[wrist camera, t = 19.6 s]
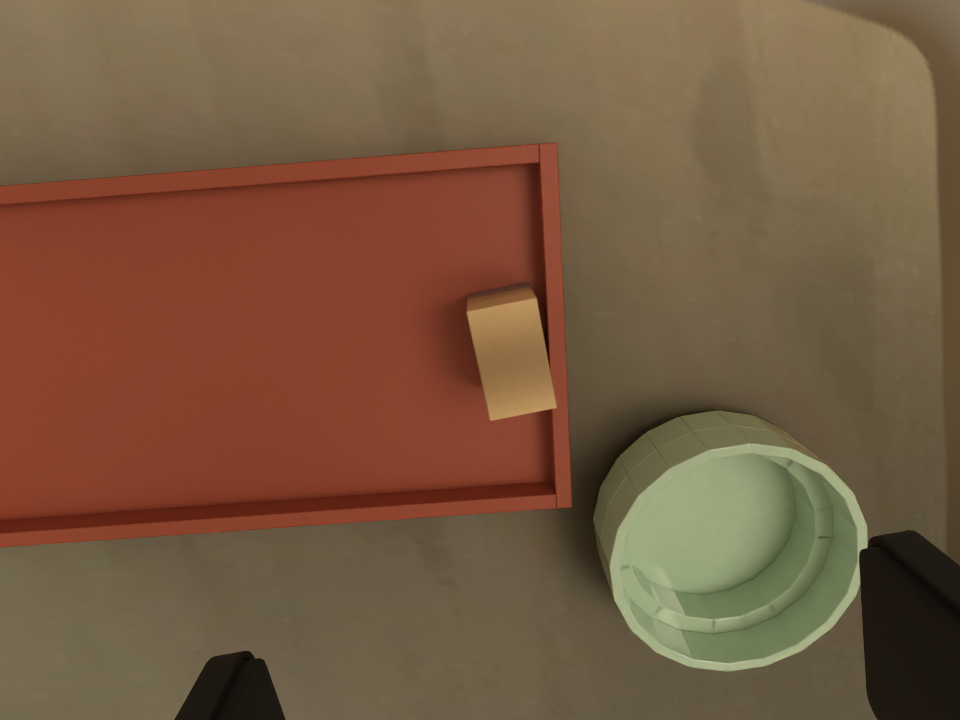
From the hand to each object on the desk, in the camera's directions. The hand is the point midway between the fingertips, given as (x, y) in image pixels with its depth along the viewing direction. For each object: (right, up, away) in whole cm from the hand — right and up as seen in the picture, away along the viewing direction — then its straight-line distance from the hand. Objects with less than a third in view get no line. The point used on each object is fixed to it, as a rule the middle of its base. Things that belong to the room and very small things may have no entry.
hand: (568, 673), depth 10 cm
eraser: (0, +6, +22) cm, 23 cm away
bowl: (+11, -3, +25) cm, 28 cm away
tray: (-14, +5, +23) cm, 27 cm away
